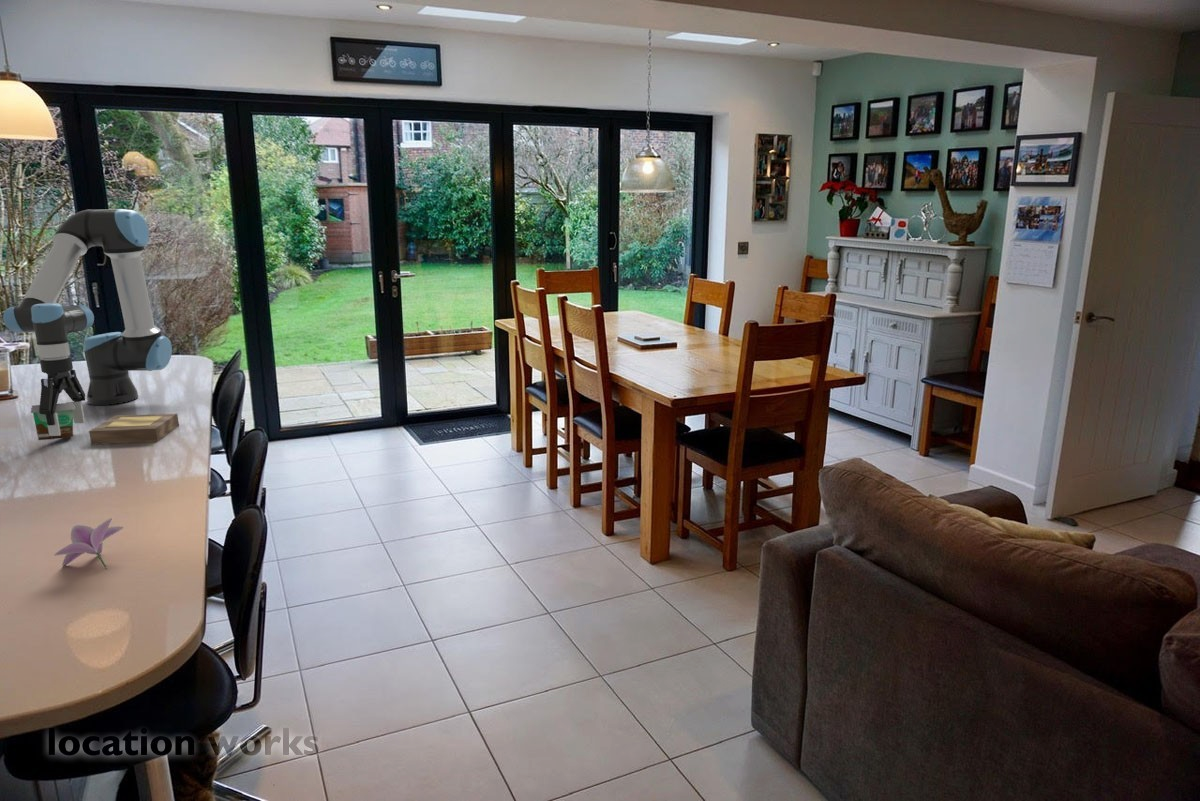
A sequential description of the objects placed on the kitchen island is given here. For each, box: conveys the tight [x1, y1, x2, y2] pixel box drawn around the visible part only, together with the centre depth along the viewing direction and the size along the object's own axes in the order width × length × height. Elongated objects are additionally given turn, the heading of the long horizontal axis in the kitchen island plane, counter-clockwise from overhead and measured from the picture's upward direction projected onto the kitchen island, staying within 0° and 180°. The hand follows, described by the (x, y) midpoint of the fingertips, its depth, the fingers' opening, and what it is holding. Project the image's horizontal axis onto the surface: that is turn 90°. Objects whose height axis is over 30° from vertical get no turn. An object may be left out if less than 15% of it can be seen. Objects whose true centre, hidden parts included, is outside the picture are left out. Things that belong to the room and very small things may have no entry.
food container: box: [30, 401, 75, 441], centre depth 227 cm, size 12×6×10 cm, turn 168°
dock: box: [88, 413, 180, 445], centre depth 233 cm, size 16×18×4 cm
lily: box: [54, 517, 124, 568], centre depth 152 cm, size 12×12×10 cm
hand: (67, 429), depth 230 cm, fingers open, 13 cm apart
